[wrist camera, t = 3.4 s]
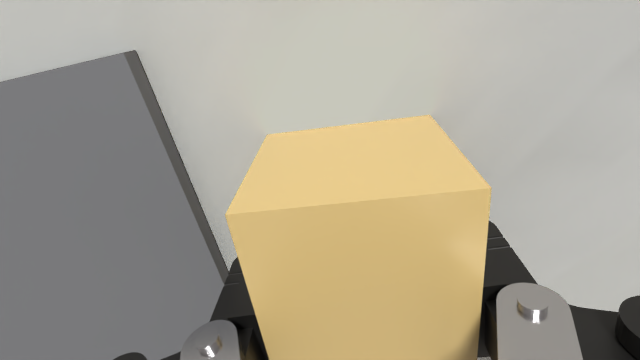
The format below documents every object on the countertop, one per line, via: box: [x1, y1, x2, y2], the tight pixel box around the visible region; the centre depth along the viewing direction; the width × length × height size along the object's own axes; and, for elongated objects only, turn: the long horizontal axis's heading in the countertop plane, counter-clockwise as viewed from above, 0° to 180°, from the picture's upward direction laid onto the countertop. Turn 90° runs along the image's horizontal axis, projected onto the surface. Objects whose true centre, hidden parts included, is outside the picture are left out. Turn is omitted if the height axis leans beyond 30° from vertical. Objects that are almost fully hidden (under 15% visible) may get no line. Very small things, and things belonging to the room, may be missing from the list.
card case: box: [225, 115, 491, 360], centre depth 10 cm, size 5×8×4 cm, turn 8°
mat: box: [0, 50, 229, 360], centre depth 14 cm, size 18×18×1 cm
